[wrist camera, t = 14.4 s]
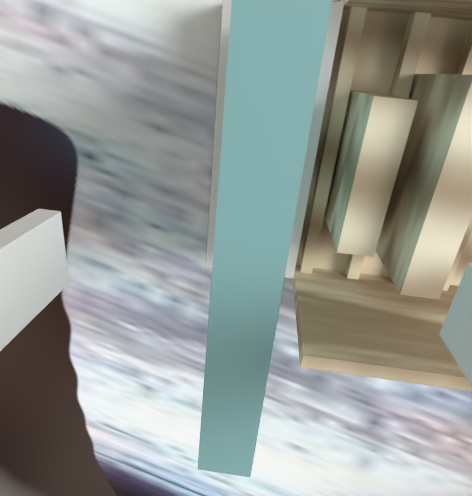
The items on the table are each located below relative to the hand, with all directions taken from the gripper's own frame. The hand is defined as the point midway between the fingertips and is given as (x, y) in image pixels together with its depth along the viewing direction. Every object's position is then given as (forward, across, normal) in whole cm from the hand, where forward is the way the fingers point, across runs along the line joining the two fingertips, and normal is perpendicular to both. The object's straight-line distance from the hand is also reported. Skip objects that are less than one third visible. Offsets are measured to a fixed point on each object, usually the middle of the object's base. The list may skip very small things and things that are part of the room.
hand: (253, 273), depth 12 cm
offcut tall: (+20, -11, 0) cm, 23 cm away
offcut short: (+20, -7, 0) cm, 21 cm away
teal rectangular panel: (+20, 0, 0) cm, 20 cm away
